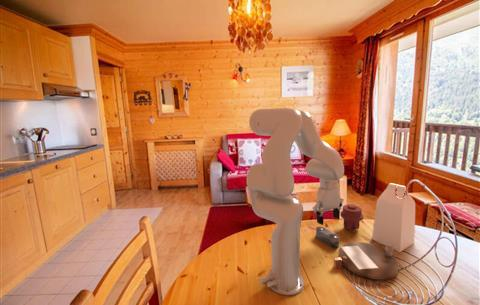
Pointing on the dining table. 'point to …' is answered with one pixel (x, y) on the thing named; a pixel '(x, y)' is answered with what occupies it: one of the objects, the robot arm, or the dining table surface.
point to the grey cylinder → (327, 237)
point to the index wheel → (369, 260)
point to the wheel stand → (337, 263)
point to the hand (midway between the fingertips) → (328, 220)
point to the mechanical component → (351, 217)
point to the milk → (395, 218)
